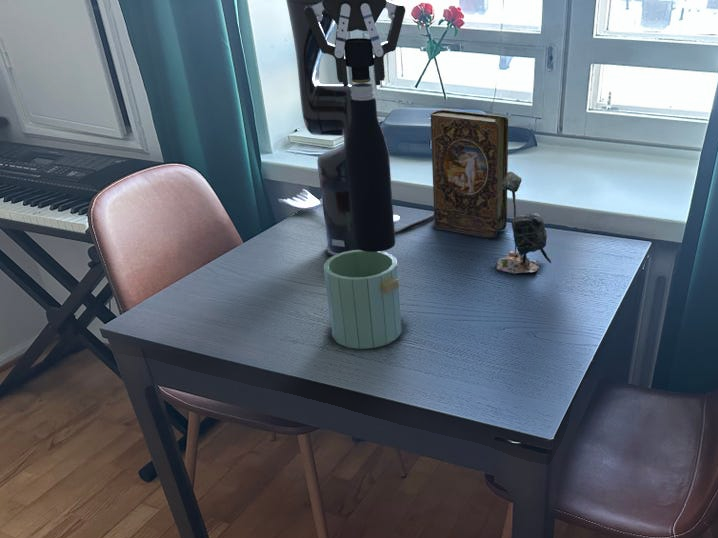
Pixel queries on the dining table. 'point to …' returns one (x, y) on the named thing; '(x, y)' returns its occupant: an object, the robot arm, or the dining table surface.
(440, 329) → the dining table surface
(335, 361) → the dining table surface
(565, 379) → the dining table surface
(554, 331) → the dining table surface
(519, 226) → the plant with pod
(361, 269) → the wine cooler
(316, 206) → the serving fork
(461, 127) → the book
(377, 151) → the wine bottle
